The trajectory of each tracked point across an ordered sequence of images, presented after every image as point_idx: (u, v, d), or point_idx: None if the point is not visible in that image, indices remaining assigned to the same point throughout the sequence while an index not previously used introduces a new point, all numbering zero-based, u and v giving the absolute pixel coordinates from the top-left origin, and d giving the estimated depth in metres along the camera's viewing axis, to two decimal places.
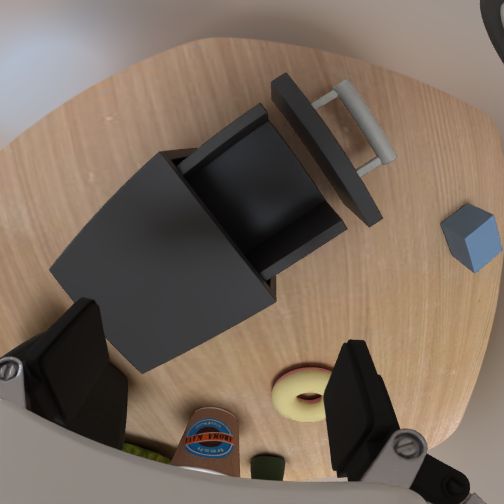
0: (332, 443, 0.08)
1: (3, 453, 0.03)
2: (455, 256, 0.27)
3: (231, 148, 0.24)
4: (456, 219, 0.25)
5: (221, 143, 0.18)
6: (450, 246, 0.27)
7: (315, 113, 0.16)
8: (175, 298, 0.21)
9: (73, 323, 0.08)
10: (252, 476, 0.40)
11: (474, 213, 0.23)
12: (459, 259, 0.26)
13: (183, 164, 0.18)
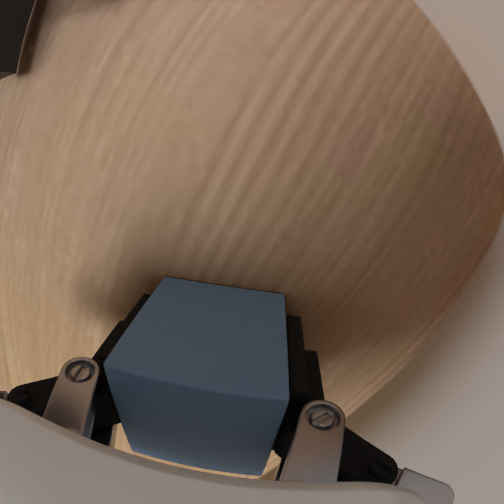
0: None
1: (3, 453, 0.03)
2: None
3: None
4: (197, 299, 0.09)
5: None
6: None
7: None
8: None
9: None
10: None
11: (251, 332, 0.08)
12: None
13: None
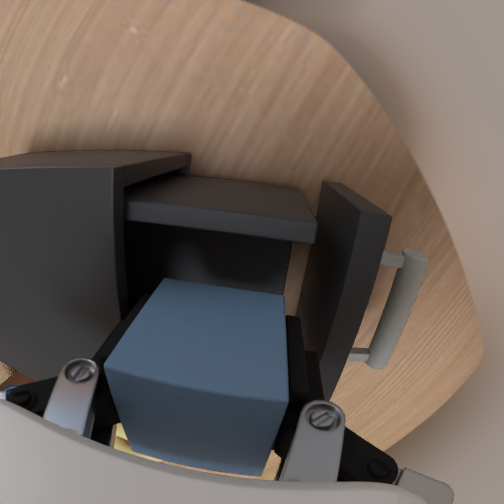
0: None
1: (3, 453, 0.03)
2: None
3: None
4: (197, 301, 0.09)
5: (212, 228, 0.10)
6: None
7: (366, 298, 0.10)
8: (34, 336, 0.11)
9: None
10: None
11: (250, 333, 0.08)
12: None
13: (137, 207, 0.10)
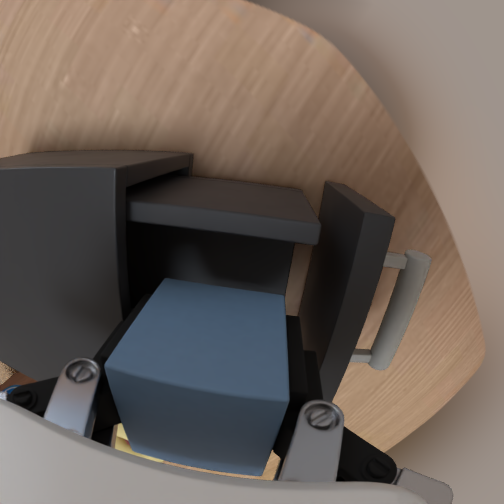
0: None
1: (3, 453, 0.03)
2: None
3: None
4: (198, 301, 0.09)
5: (215, 229, 0.10)
6: None
7: (369, 300, 0.10)
8: (35, 337, 0.11)
9: None
10: None
11: (251, 333, 0.08)
12: None
13: (139, 207, 0.10)
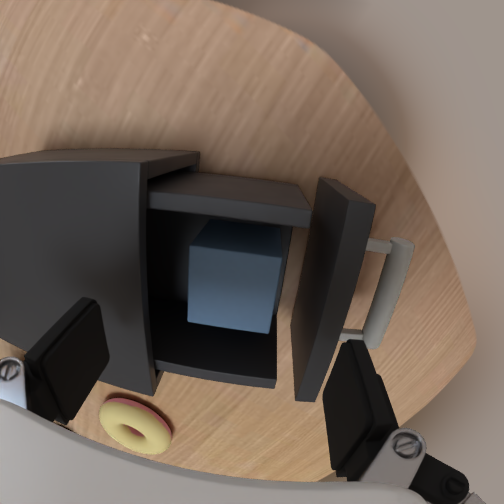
0: (331, 443, 0.08)
1: (3, 453, 0.03)
2: None
3: None
4: (232, 227, 0.17)
5: (223, 215, 0.12)
6: None
7: (355, 276, 0.12)
8: (54, 317, 0.13)
9: (74, 323, 0.08)
10: None
11: (262, 238, 0.16)
12: None
13: (158, 196, 0.12)
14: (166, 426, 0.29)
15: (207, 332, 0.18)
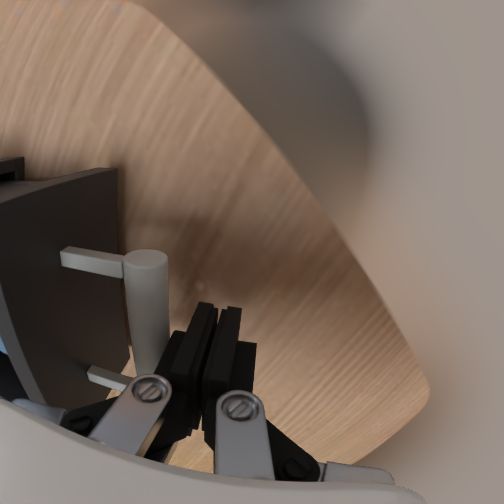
0: None
1: (3, 453, 0.03)
2: None
3: None
4: None
5: None
6: None
7: (6, 312, 0.06)
8: None
9: (206, 329, 0.09)
10: None
11: None
12: None
13: None
14: None
15: None
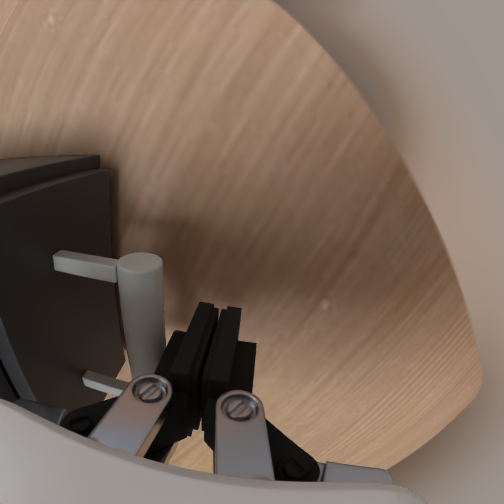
0: None
1: (3, 453, 0.03)
2: None
3: None
4: None
5: None
6: None
7: None
8: None
9: (206, 329, 0.09)
10: None
11: None
12: None
13: None
14: None
15: None
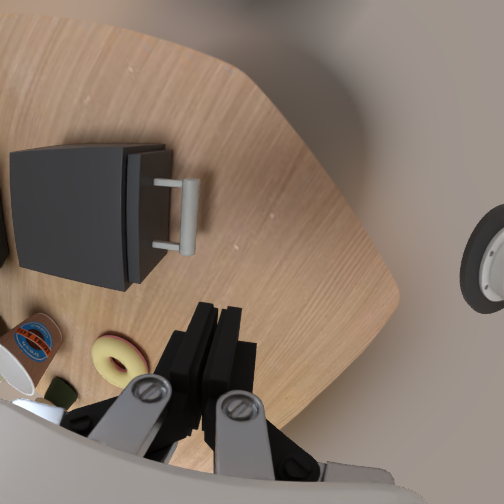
0: None
1: (3, 453, 0.03)
2: None
3: None
4: None
5: None
6: None
7: (137, 193, 0.22)
8: (69, 240, 0.23)
9: (206, 329, 0.09)
10: (47, 391, 0.41)
11: None
12: None
13: None
14: (143, 359, 0.38)
15: None
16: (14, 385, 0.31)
